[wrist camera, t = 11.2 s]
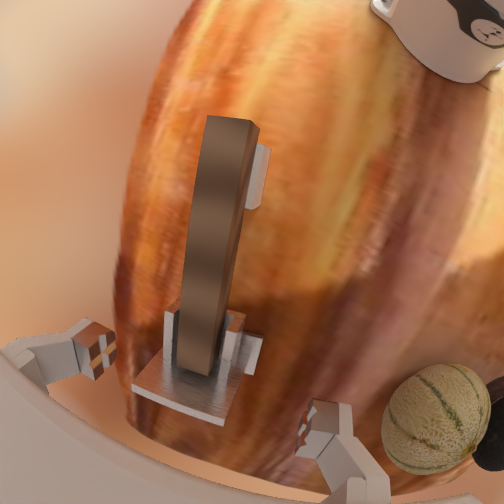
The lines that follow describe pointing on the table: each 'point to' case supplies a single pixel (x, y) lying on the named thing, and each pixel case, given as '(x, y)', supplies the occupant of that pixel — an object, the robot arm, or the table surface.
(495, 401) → the black rounded lump
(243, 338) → the bracket
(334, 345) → the table surface
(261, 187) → the pale grey block
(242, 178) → the walnut rail
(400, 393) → the cantaloupe
